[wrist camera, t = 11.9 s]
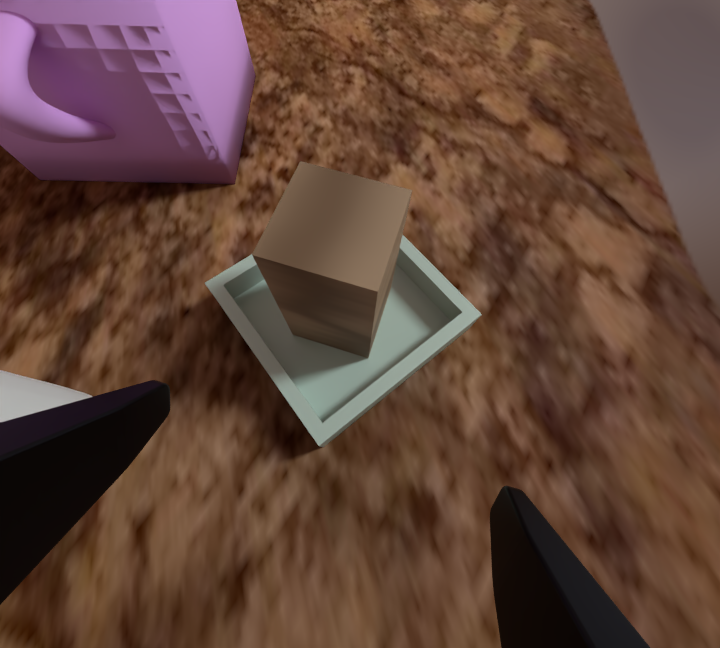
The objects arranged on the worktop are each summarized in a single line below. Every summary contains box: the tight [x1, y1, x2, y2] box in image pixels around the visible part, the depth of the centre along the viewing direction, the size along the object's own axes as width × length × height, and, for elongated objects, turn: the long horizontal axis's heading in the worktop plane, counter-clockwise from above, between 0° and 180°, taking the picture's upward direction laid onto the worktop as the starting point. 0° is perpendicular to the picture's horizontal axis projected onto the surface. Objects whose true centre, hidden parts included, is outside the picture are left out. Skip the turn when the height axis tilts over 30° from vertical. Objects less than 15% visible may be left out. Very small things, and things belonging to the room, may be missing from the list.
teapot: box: [0, 0, 256, 184], centre depth 23 cm, size 15×25×14 cm, turn 179°
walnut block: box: [252, 161, 412, 358], centre depth 18 cm, size 5×5×9 cm
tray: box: [205, 235, 482, 447], centre depth 21 cm, size 12×12×2 cm
